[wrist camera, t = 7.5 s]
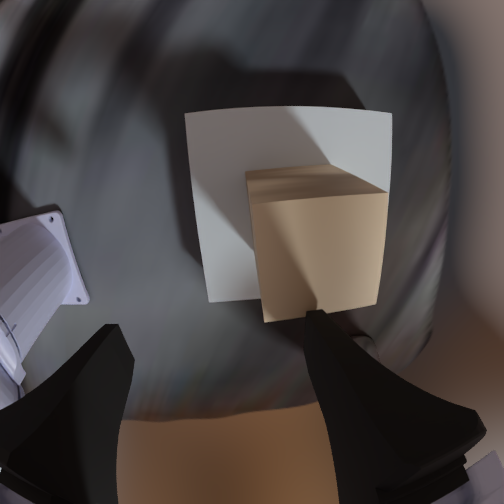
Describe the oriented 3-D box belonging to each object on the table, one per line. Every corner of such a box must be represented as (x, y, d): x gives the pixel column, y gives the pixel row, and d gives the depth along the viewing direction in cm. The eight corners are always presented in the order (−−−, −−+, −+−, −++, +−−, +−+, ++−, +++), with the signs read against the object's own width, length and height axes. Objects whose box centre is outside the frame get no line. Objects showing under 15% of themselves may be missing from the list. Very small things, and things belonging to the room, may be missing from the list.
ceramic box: (212, 273, 20) (209, 302, 17) (194, 115, 15) (184, 113, 12) (357, 260, 20) (376, 285, 17) (364, 113, 15) (391, 113, 12)
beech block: (253, 251, 15) (264, 322, 10) (244, 171, 13) (251, 204, 8) (331, 242, 15) (375, 304, 10) (331, 164, 13) (388, 192, 8)
